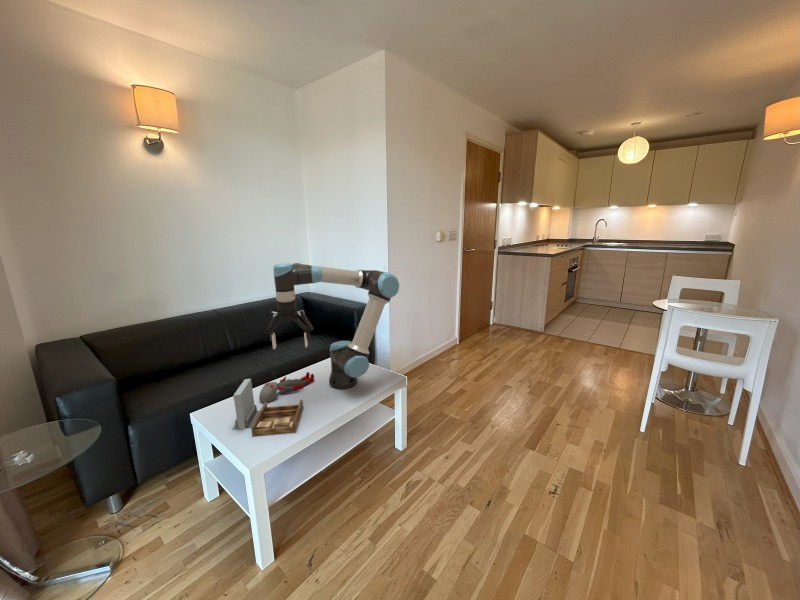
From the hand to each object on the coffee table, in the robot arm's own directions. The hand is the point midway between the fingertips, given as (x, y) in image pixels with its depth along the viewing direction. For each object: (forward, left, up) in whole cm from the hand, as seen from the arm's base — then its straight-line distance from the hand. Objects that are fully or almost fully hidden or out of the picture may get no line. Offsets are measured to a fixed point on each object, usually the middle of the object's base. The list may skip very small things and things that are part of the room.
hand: (290, 347), depth 143 cm
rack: (+6, +8, -32) cm, 33 cm away
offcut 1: (+11, +14, -31) cm, 35 cm away
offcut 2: (+3, +14, -29) cm, 32 cm away
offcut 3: (+3, +14, -31) cm, 34 cm away
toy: (+8, -20, -32) cm, 39 cm away
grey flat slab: (+20, +5, -31) cm, 37 cm away
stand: (+21, +5, -32) cm, 38 cm away
